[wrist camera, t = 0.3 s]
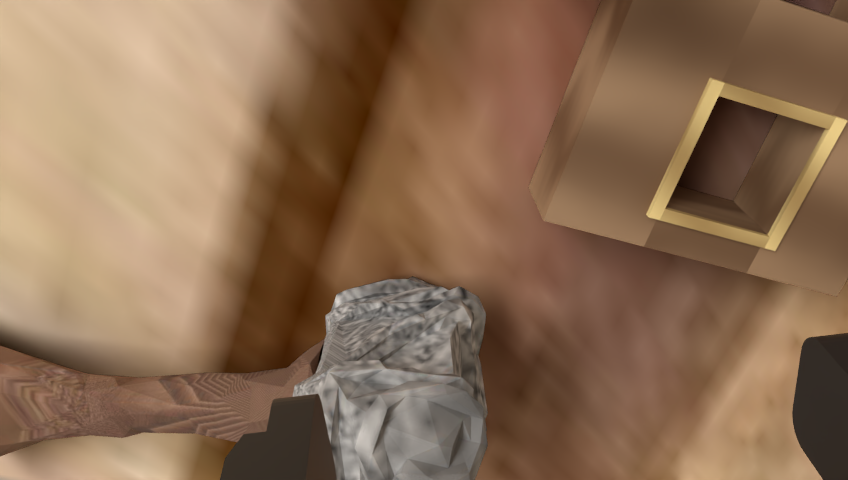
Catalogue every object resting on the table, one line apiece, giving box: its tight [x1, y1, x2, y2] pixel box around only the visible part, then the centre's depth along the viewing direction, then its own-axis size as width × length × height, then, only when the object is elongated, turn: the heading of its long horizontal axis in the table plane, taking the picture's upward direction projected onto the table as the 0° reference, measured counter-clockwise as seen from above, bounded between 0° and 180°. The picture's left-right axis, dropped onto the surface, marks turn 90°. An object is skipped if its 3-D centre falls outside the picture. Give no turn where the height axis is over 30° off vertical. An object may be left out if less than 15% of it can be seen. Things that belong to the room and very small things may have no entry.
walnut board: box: [528, 0, 848, 297], centre depth 36 cm, size 20×16×4 cm
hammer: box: [0, 276, 488, 480], centre depth 39 cm, size 15×10×30 cm
